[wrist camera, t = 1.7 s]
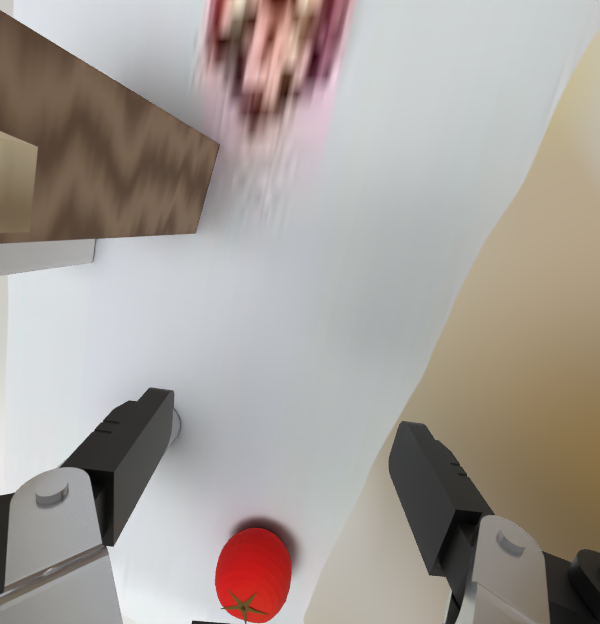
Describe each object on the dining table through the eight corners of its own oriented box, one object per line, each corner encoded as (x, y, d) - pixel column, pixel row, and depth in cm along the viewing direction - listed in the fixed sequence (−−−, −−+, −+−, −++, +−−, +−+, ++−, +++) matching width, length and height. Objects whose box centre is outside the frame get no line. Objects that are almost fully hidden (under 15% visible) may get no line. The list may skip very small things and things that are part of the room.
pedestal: (195, 233, 44) (-301, 259, 10) (94, 190, 44) (-674, 86, 11) (219, 144, 40) (-427, -251, 7) (109, 99, 41) (-973, -464, 7)
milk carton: (52, 246, 48) (-129, 259, 30) (56, 200, 46) (-136, 184, 28) (93, 262, 48) (-65, 285, 30) (99, 216, 45) (-67, 211, 27)
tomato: (227, 508, 57) (201, 568, 47) (296, 519, 55) (284, 584, 45) (230, 566, 61) (207, 632, 51) (295, 578, 59) (284, 650, 49)
